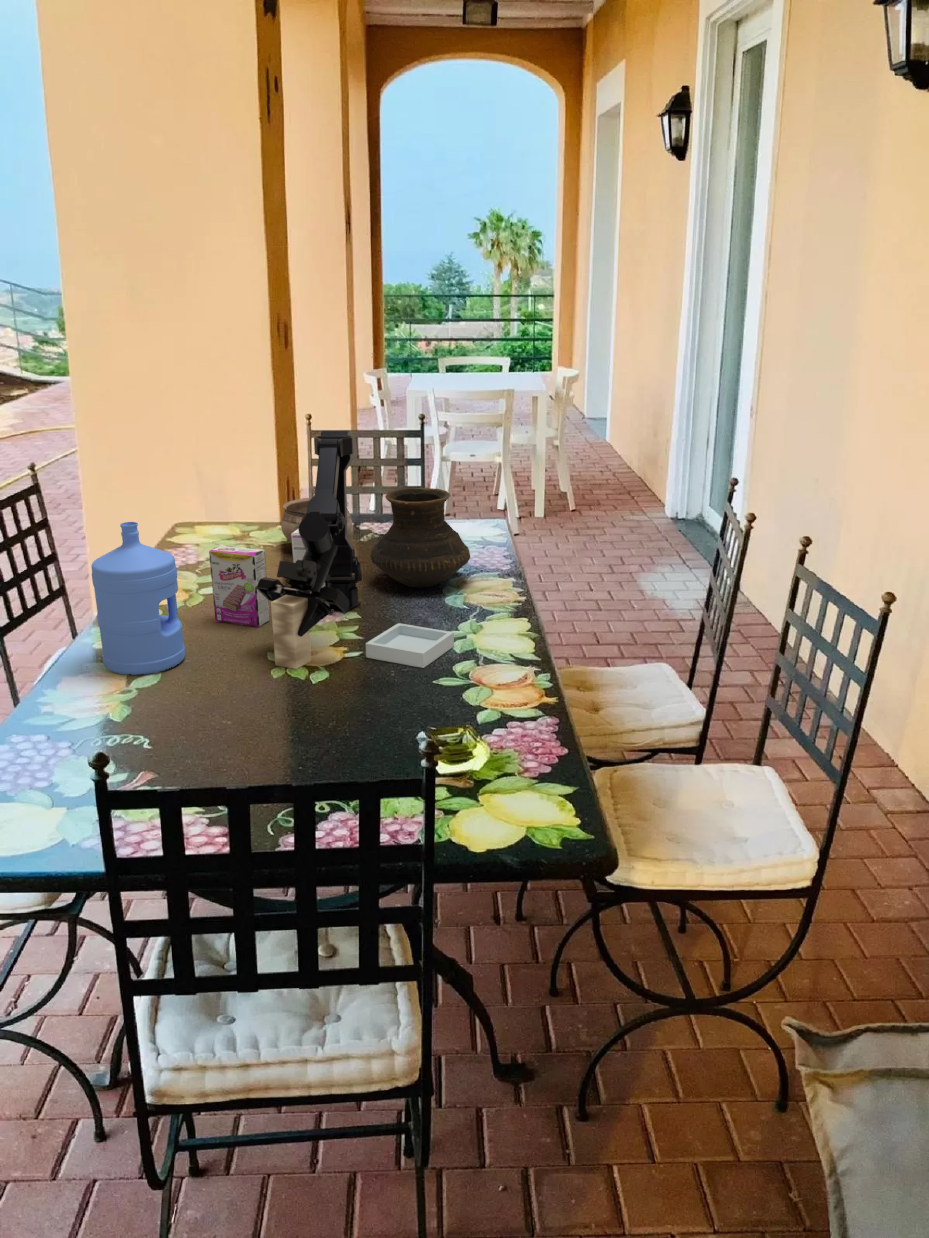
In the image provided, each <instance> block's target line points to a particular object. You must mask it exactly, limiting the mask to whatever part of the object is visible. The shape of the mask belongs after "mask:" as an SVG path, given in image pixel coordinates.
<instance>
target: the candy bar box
mask: <svg viewBox="0 0 929 1238" xmlns="http://www.w3.org/2000/svg"><path fill="white" fill-rule="evenodd" d="M208 554H209V564H210V576H211V585H212V596H213V597H212V598H213V599H212V600H213V607H214V618H215V619H214V620H215V622H217V623H222V624H223V623H224V624H232V625H240V626H247V627H248V626H249V627H256V628H260V627H262V626H263V625H265V624H266V623H268V622H270V617H271V616H270V608H269V607H270V606H269V605H270V604H269V600H268V599H267V598H266V597H265V596H264V595H263V594H262V593H261V592H260V591H259V590H258V589H257V588H256V587H257V585H258V582H259V580H260V579H261V578H264V577H266V578H268V577H267V565H266V551H265V549H261V548H251V547H249V548H248V547H241V546H232V545H225V544H224V545H223V544H221V545H218V546H216V547H213V548H211V549H210V550H208Z"/></svg>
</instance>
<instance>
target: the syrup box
mask: <svg viewBox="0 0 929 1238" xmlns="http://www.w3.org/2000/svg"><path fill="white" fill-rule="evenodd" d="M291 538H292V543H291V548H292V549H291V550H292V561H293V562H292V563H296V561H297V560H302V559H303V556H304V554H305V552H306V549H305V547H304V545H303V542H302V539H301V536H300V534H299V529H298V530H296V531H294V532H293V533H292V534H291ZM322 587H325V583H324V584H323V586H322Z"/></svg>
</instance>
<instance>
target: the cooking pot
mask: <svg viewBox="0 0 929 1238" xmlns="http://www.w3.org/2000/svg"><path fill="white" fill-rule="evenodd" d="M311 498H312V497H305V498H299V499H293V500H290V501H288V502H285V503H284V504H283V505H282V508H283V509H284V512H283V514H282V517H281V521H280V522H281V523H280V527H281V531H282V534H283V535H284V537H285V538H286V539H287V541H288V542H290V543H291V544H292V538H291V534H292V533H293V532H294V531H296V530H298V528H299V525H300V523H301V520H302V518H303V515H304V513H306V512H307V505H308V501H309V500H310V499H311ZM348 506H349V502H348V501H347V507H348ZM352 528H353V521H352V517H351V513H350V511H349V510H348V508H347V537H348V536H349V535H350V534H351V531H352ZM348 538H349V537H348Z"/></svg>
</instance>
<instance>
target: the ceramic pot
mask: <svg viewBox="0 0 929 1238" xmlns="http://www.w3.org/2000/svg"><path fill="white" fill-rule="evenodd" d="M450 497H451V494H450V493H449V492H448V491H447V490H444V489H440V488H431V487H430V488H429V487H404V488H398V489H397V488H396V489H393V490H391V491H387V493H386V494H385V499H386V501H387V502H389V503H390V507H391V511H392V512H391V513H392V524H391V526H390V527H389V529H388V530H387V531H386V533H385V534H383V535H382V536H381V538H380V539H379V541H378V542H377V543H375V544H374V546H373V547H372V548H371V551H370V559H371V562H372V563H373V564H374V565H375V566H376V567H377V568H379V569H380V570H381V571H382V572H383V573H385V574H386V575H388V576H389V577H391V578H392V579H394V580H395V581H397V582H399V583H400V584H402V585H404V586H407V587H410V588H432V587H434V586H436V585H439V584H440V583H442V582H444V581H445V580H448V579H449V578H450V577H452V576H453V575H454V574H455V573H457V572H458V571H459V570H460V569H461V568H463V567H464V566H466V565H467V564H468V563H469V560H470V558H471V553H470V549H469V546H467V545H466V544H465V542H464V541H463V540H462V538H461V536H460V533H458V531H456V530H454V529H453V527H452V526H451V525H450V524H449V523H448V522H447V521H446V520H445V503H446V502H447V500H448V499H450Z"/></svg>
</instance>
